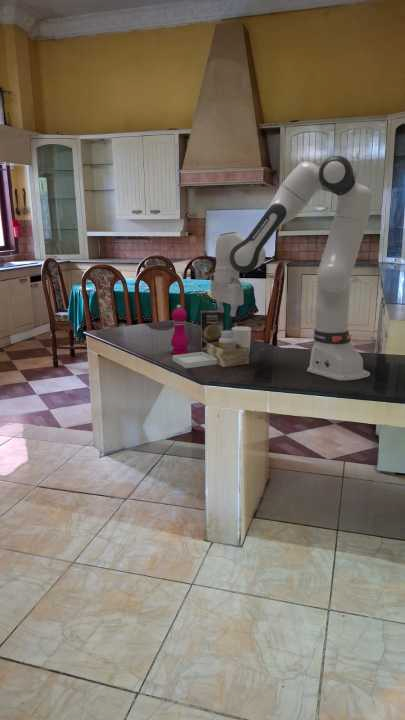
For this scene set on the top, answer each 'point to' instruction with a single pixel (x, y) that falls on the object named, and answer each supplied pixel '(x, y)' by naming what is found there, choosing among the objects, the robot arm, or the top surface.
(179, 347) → the pepper mill
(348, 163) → the robot arm
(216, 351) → the beech box
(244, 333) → the white cup
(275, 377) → the top surface
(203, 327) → the coffee box
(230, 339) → the pill bottle
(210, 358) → the sage tray
